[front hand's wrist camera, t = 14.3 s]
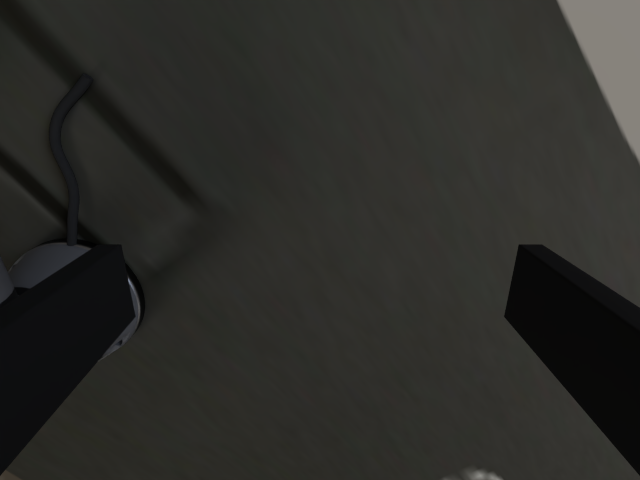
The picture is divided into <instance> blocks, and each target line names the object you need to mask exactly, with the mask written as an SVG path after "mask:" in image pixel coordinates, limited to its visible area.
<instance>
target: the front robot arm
mask: <svg viewBox="0 0 640 480" xmlns="http://www.w3.org/2000/svg"><path fill="white" fill-rule="evenodd" d="M92 82H93V79H92V78H91V77H90V76H89V75H87V74H84V73H83V74H82V76H81V77H80V79H79V80H78V81H77V83H76V84H75V85H74V86H73V88H72V89H71V90H70V91H69V92H68V93H67V95H66V96H65V97H64V98H63V99H62V101H61V102H60V103H59V105H58V106H57V108H56V109H55V111H54V113H53V116H52V119H51V123H50V129H49V140H50V146H51V149H52V152H53V155H54V157H55V159H56V161H57V163H58V165H59V167H60V169H61V171H62V173H63V175H64V178H65V180H66V183H67V186H68V191H69V206H68V216H67V239H56V240H52V241H48V242H45V243H43V244H41V245H39V246H37V247H35V248H33V249H31V250H29V251H27V252H26V253H24V254H23V255H22V256H21V257H20V258H19V259H18V260H17V261H16V262H15V263H14V264H13V265H12V267H11V268H10V270H9V271H7V269H6V267H5V265H4V263H3V261H2V258H1V256H0V475H1V474H2V473H3V472H4V471H5V469H6V468H7V467H8V466H9V465H10V464H11V462H12V461H13V460H14V459H15V458H16V456H17V455H18V454H19V453H20V452H21V451H22V449H23V448H24V447H25V446H26V445H27V444H28V442H29V441H30V440H31V439H32V438H33V437H34V435H35V434H36V433H37V432H38V431H39V430H40V428H41V427H42V426H43V425H44V424H45V423H46V421H47V420H48V419H49V418H50V417H51V415H52V414H53V413H54V412H55V411H56V410H57V408H58V407H59V406H60V405H61V404H62V403H63V401H64V400H65V399H66V398H67V397H68V396H69V394H70V393H71V392H72V391H73V390H74V389H75V387H76V386H77V385H78V384H79V383H80V381H81V380H82V379H83V378H84V377H85V376H86V374H87V373H88V372H89V371H90V370H91V369H92V367H93V366H94V365H95V364H96V363H97V362H98V361H99V359H100V360H101V358H102V359H103V358H104V357H106V355H109V354H111V353H112V352H114V351H115V350H117V349H118V348H120V347H121V346H123V345H124V344H125V343H126V342H127V341H128V340H129V339H130V338H131V337H132V336H133V334H134V333H135V332H136V331H137V329H138V328H139V326H140V324H141V322H142V320H143V316H144V311H145V300H144V294H143V291H142V288H141V285H140V283H139V281H138V279H137V277H136V276H135V274H134V273H133V271H132V270H131V269H130V268H129V267H128V265H127V264H126V263H125V261H124V256H123V251H122V246H121V245H97V244H94V243H91V242H88V241H84V240H78V239H77V222H78V210H79V189H78V185H77V181H76V178H75V176H74V173H73V171H72V169H71V167H70V165H69V163H68V161H67V159H66V157H65V155H64V152H63V149H62V146H61V140H60V134H61V127H62V123H63V121H64V118H65V116H66V115H67V113H68V112H69V110H70V109H71V108H72V106H73V105H74V104H75V103H76V102H77V101H78V100H79V98H80V97H81V96H82V95H83V94H84V93H85V91H86V90H87V89H88V87H89V86H90V85H91V83H92ZM504 317H505V318H506V319H507V321H508V322H509V323H510V324H511V325H512V326H513V328H514V329H515V330H516V331H517V332H518V333H519V335H520V336H521V337H522V338H523V339H524V340H525V342H526V343H527V344H528V345H529V346H530V348H531V349H532V350H533V351H534V352H535V353H536V355H537V356H538V357H539V358H540V359H541V360H542V362H543V363H544V364H545V365H546V366H547V367H548V369H549V370H550V371H551V372H552V373H553V374H554V376H555V377H556V378H557V379H558V380H559V381H560V383H561V384H562V385H563V386H564V387H565V389H566V390H567V391H568V392H569V393H570V394H571V396H572V397H573V398H574V399H575V400H576V401H577V403H578V404H579V405H580V406H581V407H582V408H583V410H584V411H585V412H586V413H587V414H588V415H589V417H590V418H591V419H592V420H593V421H594V423H595V424H596V425H597V426H598V427H599V428H600V430H601V431H602V432H603V433H604V434H605V435H606V437H607V438H608V439H609V440H610V441H611V442H612V444H613V445H614V446H615V447H616V448H617V449H618V451H619V452H620V453H621V454H622V455H623V456H624V458H625V459H626V460H627V461H628V462H629V464H630V465H631V466H632V467H633V468H634V469H635V471H636V472H637V473H638V474H639V475H640V308H639V307H638V306H636V305H635V304H633V303H631V302H630V301H628V300H627V299H625V298H624V297H622V296H621V295H619V294H618V293H616V292H614V291H613V290H611V289H610V288H608V287H607V286H605V285H604V284H602V283H601V282H599V281H597V280H596V279H594V278H593V277H591V276H590V275H588V274H587V273H585V272H584V271H582V270H581V269H579V268H577V267H576V266H574V265H573V264H571V263H570V262H568V261H567V260H565V259H564V258H562V257H560V256H559V255H557V254H556V253H554V252H553V251H551V250H550V249H548V248H547V247H545V246H543V245H519V246H518V251H517V256H516V261H515V266H514V271H513V276H512V281H511V286H510V291H509V296H508V301H507V306H506V310H505V315H504Z"/></svg>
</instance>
